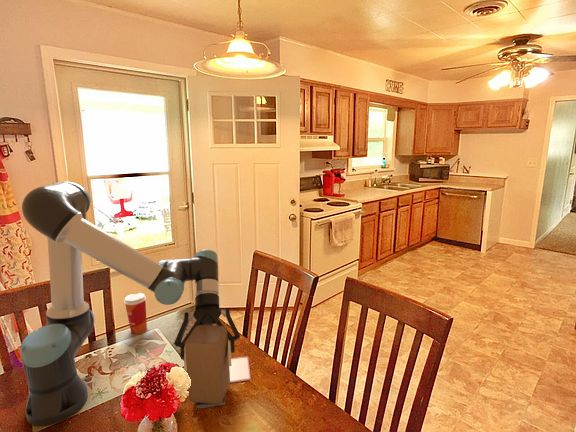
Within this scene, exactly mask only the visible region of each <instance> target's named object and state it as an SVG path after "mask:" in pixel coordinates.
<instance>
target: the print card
mask: <svg viewBox="0 0 576 432" xmlns="http://www.w3.org/2000/svg"><path fill="white" fill-rule="evenodd" d="M231 364H232V366H229V369H230V383H229V384H233V383H239V382H240V383H241V382H245V381H252V376H251V375H252V374H251V368H250V361H249V355H246V356H239V357H231Z"/></svg>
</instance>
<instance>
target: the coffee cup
mask: <svg viewBox="0 0 576 432" xmlns="http://www.w3.org/2000/svg"><path fill="white" fill-rule="evenodd" d="M146 300H147V297H146V296H145V294H144V293H143V292H138V293H137V292H136V293H131V294H128V295H127V296H125V297H124V301H123V303H124V306H125V309H126V313H127V319H128V323H129V329H130V332H131V334H133V335H140V334H143V333H144V332H146V331H147V327H148V326H147V325H148V324H147V306H146Z"/></svg>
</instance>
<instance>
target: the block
mask: <svg viewBox="0 0 576 432" xmlns="http://www.w3.org/2000/svg"><path fill="white" fill-rule="evenodd" d="M227 330H228V327H227V326H225V325H224V326H217V325H215V324H214V325H198V326H196V327H195V328H194V330H193V331H192V333H191V334H190V336H189V337H188V339H187V340H186V342H185V353H186V364H187V372H186V374H187V373H188V375H189V377H190V379H191V386H190V388H189V387H188V395H189V401H190V403H191V402H192V403H196V402H197V403H211V404H221V403H222V401H223V399H224V396H225V397H226V393H227V391H228V388H229V386H230V384H231V383H230V369H229V357H228V341H229V339H228V337H227V336H228V332H227ZM188 375H187V376H188Z"/></svg>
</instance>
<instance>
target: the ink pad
mask: <svg viewBox="0 0 576 432" xmlns="http://www.w3.org/2000/svg"><path fill="white" fill-rule="evenodd" d="M226 401H227V400H226V395H225V396H224V399H223V401H222V403H221V404H211V403H197V402H195V409H196V410H198V409H197V408H200V409H205V408H211V407H217V406H218V407H219V406H225V405H226Z"/></svg>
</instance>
